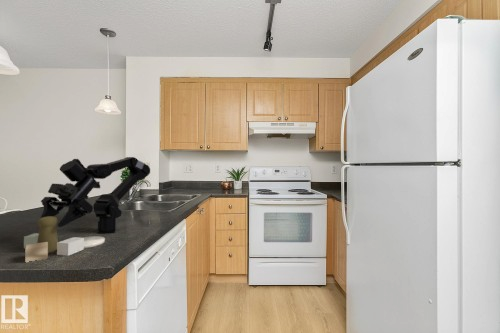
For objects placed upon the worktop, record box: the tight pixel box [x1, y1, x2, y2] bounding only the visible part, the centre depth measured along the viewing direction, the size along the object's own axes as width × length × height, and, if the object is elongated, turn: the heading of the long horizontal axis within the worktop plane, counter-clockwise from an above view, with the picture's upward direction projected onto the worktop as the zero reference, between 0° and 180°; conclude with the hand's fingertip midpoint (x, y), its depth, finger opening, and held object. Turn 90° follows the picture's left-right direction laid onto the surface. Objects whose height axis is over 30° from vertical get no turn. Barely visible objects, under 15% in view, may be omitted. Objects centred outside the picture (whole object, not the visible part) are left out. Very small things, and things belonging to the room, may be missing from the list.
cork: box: [37, 216, 59, 253], centre depth 81 cm, size 6×6×11 cm
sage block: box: [23, 232, 39, 249], centre depth 85 cm, size 4×4×4 cm
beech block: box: [24, 242, 49, 263], centre depth 74 cm, size 5×5×4 cm
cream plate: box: [82, 235, 106, 249], centre depth 88 cm, size 11×11×1 cm
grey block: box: [56, 236, 85, 256], centre depth 79 cm, size 6×4×4 cm, turn 172°
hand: (48, 225), depth 81 cm, fingers open, 9 cm apart
